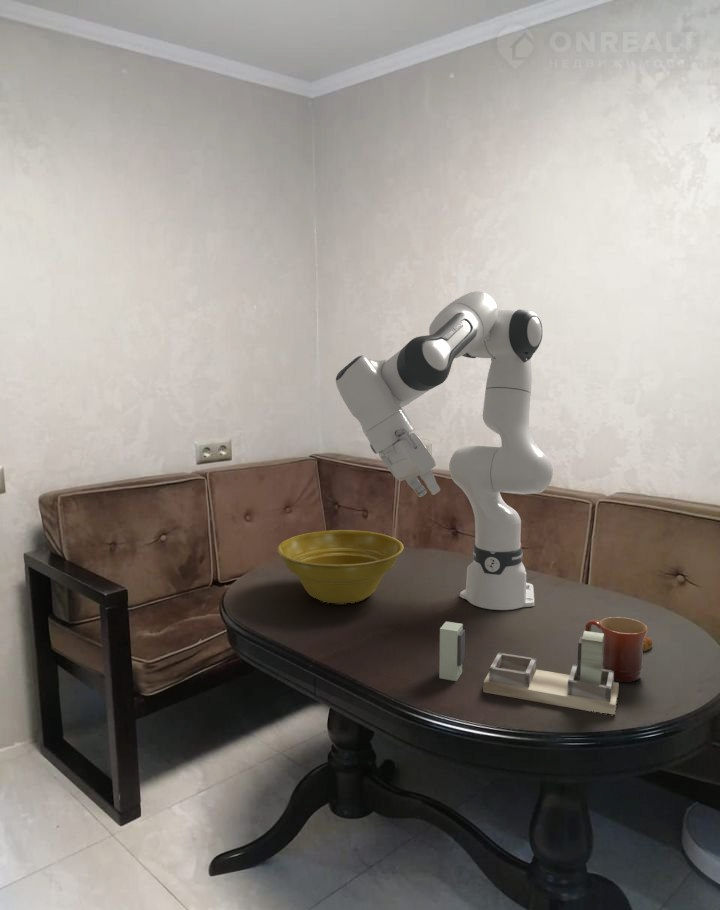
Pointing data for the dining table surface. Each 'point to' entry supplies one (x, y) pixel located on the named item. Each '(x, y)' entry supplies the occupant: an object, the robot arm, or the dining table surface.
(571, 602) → the dining table surface
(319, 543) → the planter bowl
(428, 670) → the dining table surface
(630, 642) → the mug
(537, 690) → the cream peg holder
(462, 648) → the block
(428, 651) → the dining table surface
